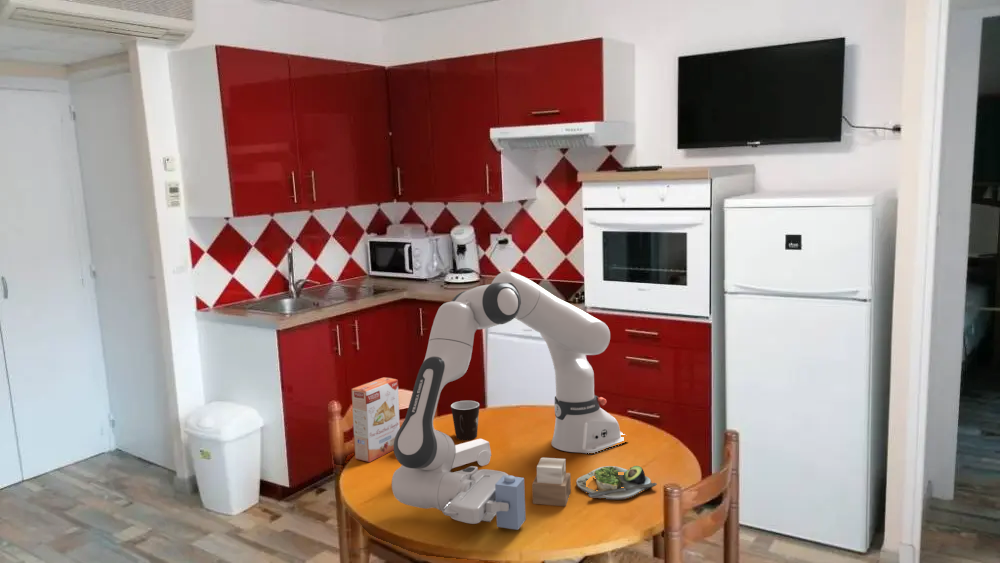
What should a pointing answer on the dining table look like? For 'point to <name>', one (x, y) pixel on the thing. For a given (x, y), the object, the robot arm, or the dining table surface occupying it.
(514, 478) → the blue brick
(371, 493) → the dining table surface
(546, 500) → the tower base
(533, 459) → the dining table surface
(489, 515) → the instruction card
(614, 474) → the salad plate
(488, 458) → the toy truck
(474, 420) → the coffee mug
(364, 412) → the cracker box
